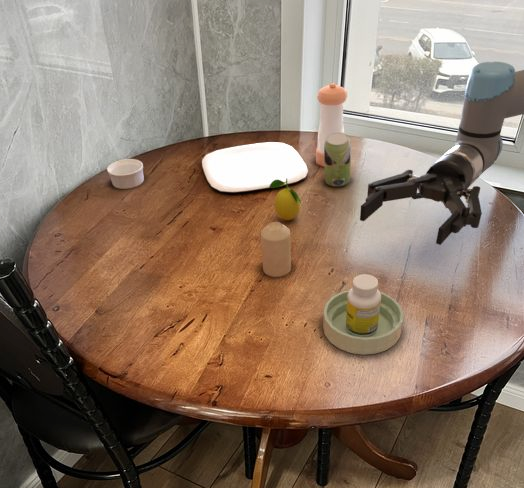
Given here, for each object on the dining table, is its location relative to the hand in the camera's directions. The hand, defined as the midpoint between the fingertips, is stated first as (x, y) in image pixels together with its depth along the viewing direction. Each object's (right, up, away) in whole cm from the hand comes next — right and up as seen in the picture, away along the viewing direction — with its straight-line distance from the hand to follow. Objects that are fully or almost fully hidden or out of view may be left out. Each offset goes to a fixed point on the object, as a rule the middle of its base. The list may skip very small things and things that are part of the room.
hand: (399, 224), depth 87 cm
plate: (-24, +26, +51) cm, 62 cm away
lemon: (-17, +8, +33) cm, 38 cm away
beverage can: (-4, +20, +44) cm, 48 cm away
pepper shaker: (-5, +28, +53) cm, 60 cm away
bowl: (-5, -17, +6) cm, 18 cm away
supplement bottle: (-5, -17, +5) cm, 18 cm away
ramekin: (-56, +22, +50) cm, 78 cm away
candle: (-19, -5, +20) cm, 28 cm away
